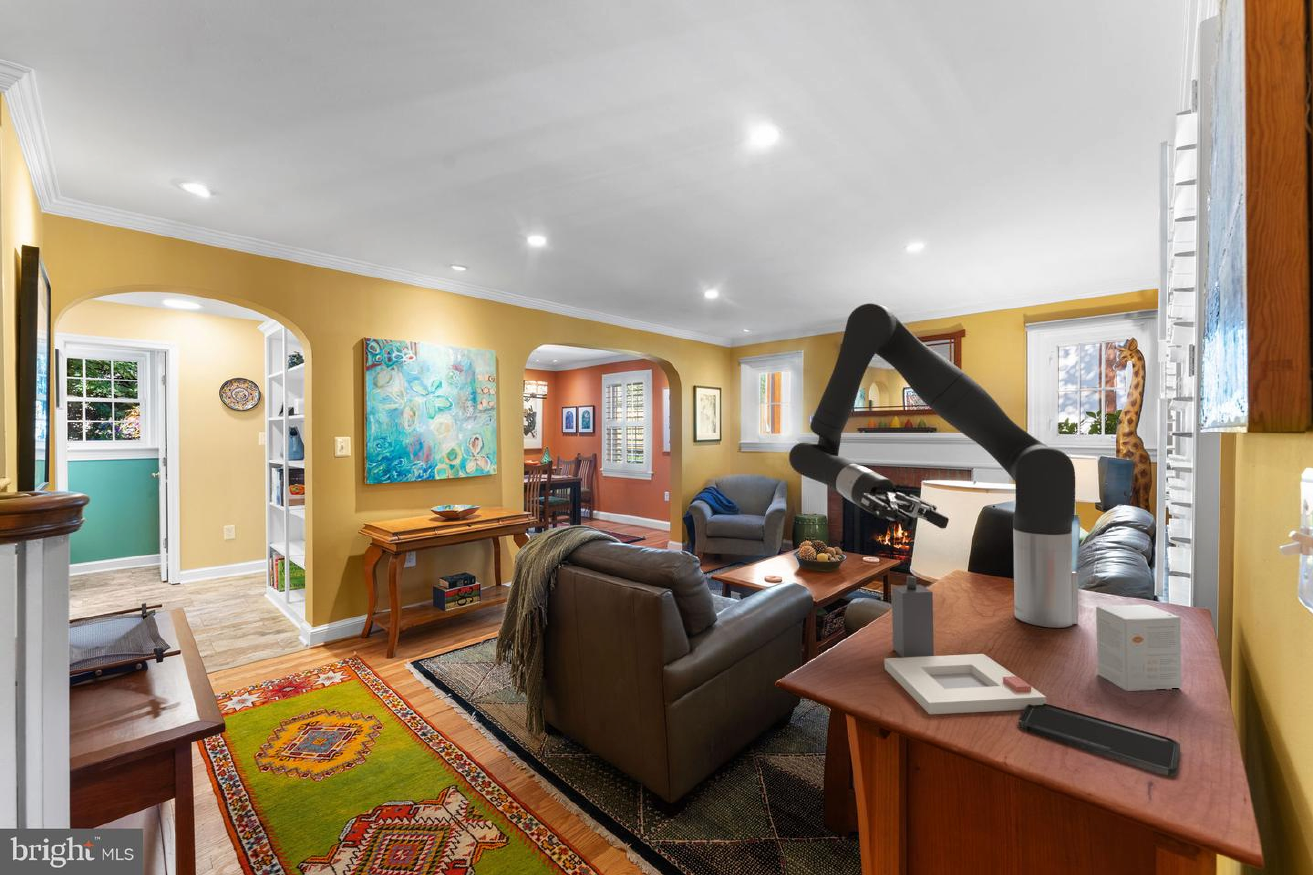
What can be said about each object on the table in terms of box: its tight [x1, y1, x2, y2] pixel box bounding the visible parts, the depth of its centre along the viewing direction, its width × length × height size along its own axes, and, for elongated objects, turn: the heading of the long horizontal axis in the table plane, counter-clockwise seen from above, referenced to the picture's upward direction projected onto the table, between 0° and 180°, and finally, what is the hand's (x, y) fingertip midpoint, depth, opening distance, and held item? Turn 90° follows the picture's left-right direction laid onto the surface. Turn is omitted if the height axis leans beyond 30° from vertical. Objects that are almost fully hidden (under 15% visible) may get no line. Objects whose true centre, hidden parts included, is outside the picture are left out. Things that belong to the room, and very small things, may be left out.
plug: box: [891, 575, 935, 658], centre depth 95 cm, size 5×4×13 cm
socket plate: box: [883, 653, 1047, 715], centre depth 83 cm, size 16×14×2 cm
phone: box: [1017, 703, 1181, 777], centre depth 69 cm, size 8×1×15 cm
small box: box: [1095, 604, 1182, 692], centre depth 82 cm, size 8×6×10 cm
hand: (930, 524), depth 100 cm, fingers open, 8 cm apart
